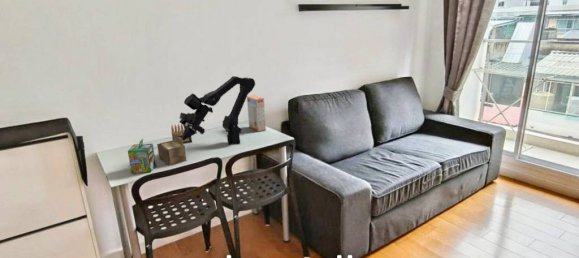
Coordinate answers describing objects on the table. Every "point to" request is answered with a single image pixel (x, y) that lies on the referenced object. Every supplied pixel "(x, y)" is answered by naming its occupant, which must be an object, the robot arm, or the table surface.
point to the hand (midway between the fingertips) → (182, 140)
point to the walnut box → (171, 154)
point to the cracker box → (256, 113)
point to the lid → (174, 142)
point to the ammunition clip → (180, 133)
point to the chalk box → (141, 158)
